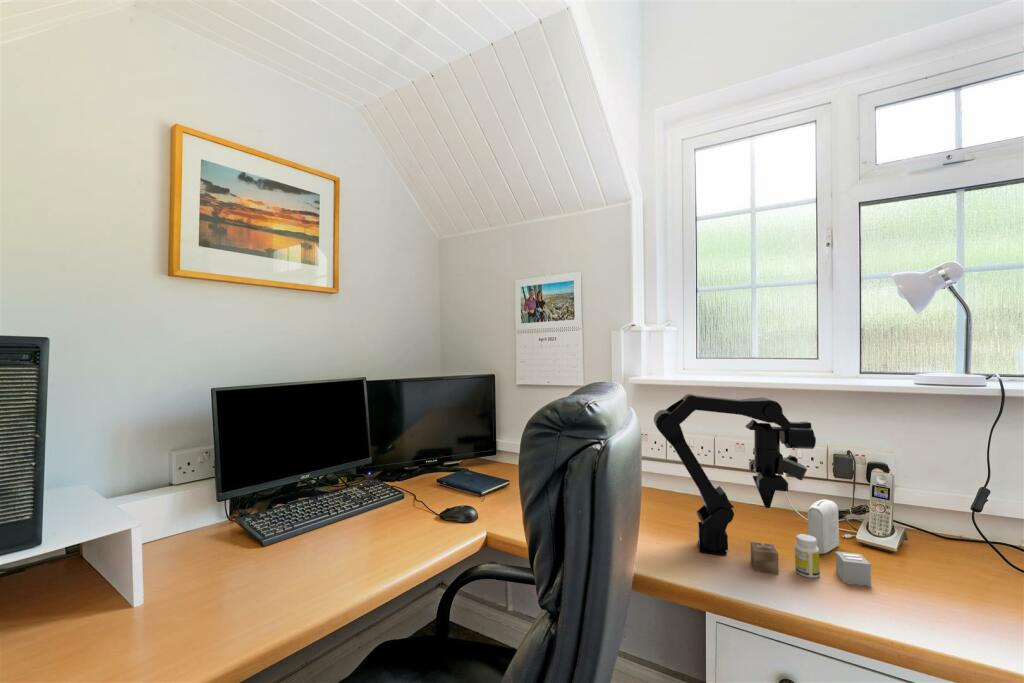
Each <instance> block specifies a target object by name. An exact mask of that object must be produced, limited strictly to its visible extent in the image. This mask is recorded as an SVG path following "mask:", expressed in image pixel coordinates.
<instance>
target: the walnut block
mask: <svg viewBox="0 0 1024 683" xmlns="http://www.w3.org/2000/svg"><path fill="white" fill-rule="evenodd" d="M749 545H750V563H751V565H752V569H753V571H754V572H757V573H763V574H771V575H779V574H780V572H779V571H780V568H779V566H780V565H779V552H778V550H777V548H776V547H775V545H774V544H771V543H765V542H764V543H763V542H755V541H750V544H749Z"/></svg>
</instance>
